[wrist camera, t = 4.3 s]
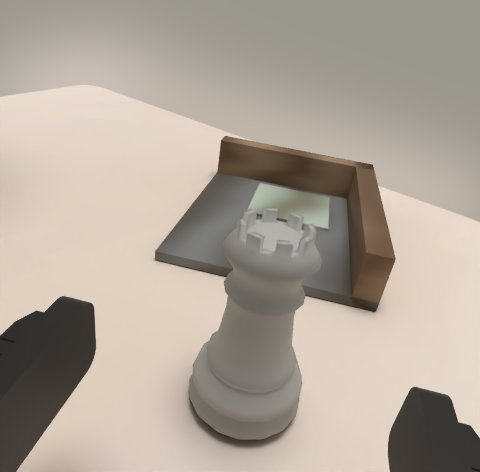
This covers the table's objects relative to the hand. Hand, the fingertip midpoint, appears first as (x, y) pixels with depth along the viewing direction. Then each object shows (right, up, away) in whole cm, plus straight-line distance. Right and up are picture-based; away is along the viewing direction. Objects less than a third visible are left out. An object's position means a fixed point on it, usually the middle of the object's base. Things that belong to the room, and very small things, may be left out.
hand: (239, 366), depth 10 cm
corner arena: (+3, +4, +20) cm, 21 cm away
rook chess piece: (0, -3, +7) cm, 7 cm away
